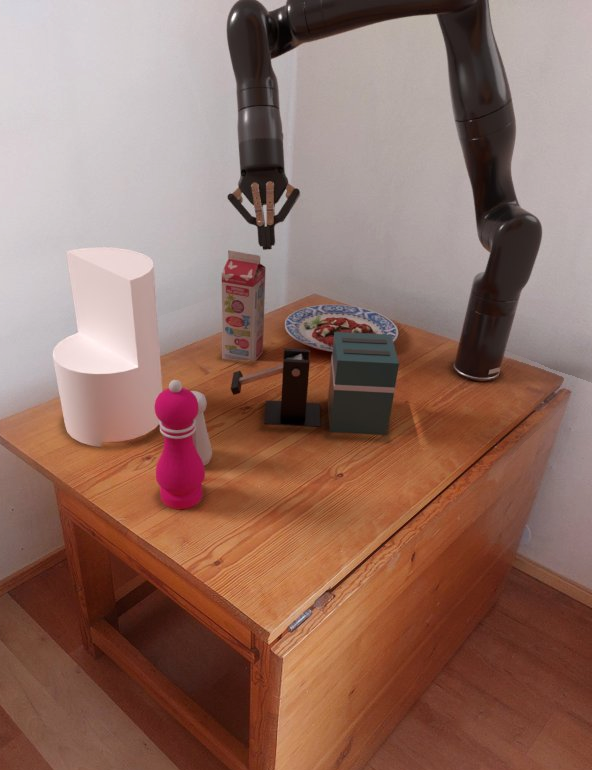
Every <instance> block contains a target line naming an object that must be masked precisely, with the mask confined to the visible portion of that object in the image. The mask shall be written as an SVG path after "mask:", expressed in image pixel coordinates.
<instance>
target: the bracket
mask: <svg viewBox="0 0 592 770" xmlns="http://www.w3.org/2000/svg"><path fill="white" fill-rule="evenodd" d="M299 354H302V356H303V359H304V360H297V359H286V358H289V357H292V356H295V355H299ZM282 361H283V362H282V365H283V373H282V382H281V400H266V401H265V411H264V423H263V424H264V425H273V426H275V425H276V426H294V427H312V428H313V427H316V428H321V427H322V419H321V403H320V402H307V401H308V400H307V399H308V390H309V389H308V387H309V377H310V376H309V375H310V365H311V364H310V363H311V362H310V361H311V360H310V349H308V348H307V349H306V348H305V349H304V348H286V347H284V348H283V360H282Z"/></svg>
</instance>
